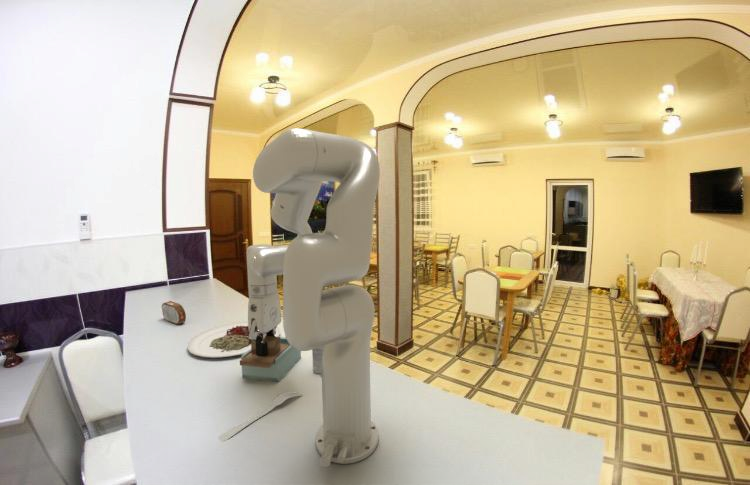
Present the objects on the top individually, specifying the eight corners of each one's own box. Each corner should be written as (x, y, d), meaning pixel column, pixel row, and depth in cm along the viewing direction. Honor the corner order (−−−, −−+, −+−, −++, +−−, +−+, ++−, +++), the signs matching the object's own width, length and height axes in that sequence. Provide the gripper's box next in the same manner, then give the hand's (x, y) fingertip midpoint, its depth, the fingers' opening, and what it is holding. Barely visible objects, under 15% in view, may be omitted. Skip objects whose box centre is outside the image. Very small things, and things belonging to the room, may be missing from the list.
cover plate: (268, 368, 82) (267, 349, 82) (239, 365, 84) (238, 346, 83) (290, 348, 94) (289, 331, 93) (264, 346, 96) (263, 329, 95)
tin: (187, 324, 129) (185, 304, 128) (179, 327, 126) (177, 306, 125) (169, 318, 137) (167, 299, 136) (161, 320, 134) (159, 301, 133)
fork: (217, 448, 65) (214, 437, 64) (298, 392, 81) (297, 382, 80) (223, 455, 63) (221, 443, 63) (305, 396, 79) (304, 386, 78)
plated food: (199, 372, 91) (198, 361, 90) (179, 340, 113) (179, 331, 113) (294, 342, 110) (294, 333, 110) (261, 320, 133) (261, 312, 132)
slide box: (278, 382, 85) (277, 359, 84) (242, 378, 87) (241, 356, 86) (300, 357, 98) (300, 338, 98) (269, 354, 101) (268, 335, 100)
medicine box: (327, 374, 88) (326, 345, 87) (312, 373, 89) (311, 344, 88) (336, 361, 96) (335, 334, 95) (322, 360, 97) (321, 333, 96)
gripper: (258, 298, 78) (261, 368, 80) (289, 282, 94) (291, 341, 96) (231, 296, 80) (235, 365, 82) (267, 281, 96) (269, 339, 98)
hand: (266, 351), depth 89 cm, fingers closed on cover plate, 3 cm apart
